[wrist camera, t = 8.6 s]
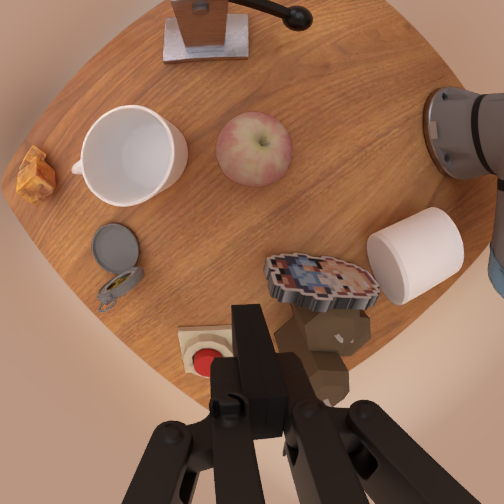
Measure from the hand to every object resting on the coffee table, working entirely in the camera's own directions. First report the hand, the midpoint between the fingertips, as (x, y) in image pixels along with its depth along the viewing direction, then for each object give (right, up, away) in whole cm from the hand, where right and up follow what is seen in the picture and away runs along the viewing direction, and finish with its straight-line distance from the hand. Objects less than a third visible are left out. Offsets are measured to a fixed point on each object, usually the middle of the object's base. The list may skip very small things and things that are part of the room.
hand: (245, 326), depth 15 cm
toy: (+8, +3, +22) cm, 24 cm away
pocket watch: (-17, +4, +19) cm, 25 cm away
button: (-6, -11, +22) cm, 25 cm away
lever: (0, +27, +4) cm, 28 cm away
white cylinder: (+17, +1, +19) cm, 26 cm away
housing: (-6, -10, +25) cm, 27 cm away
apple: (0, +16, +17) cm, 23 cm away
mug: (-13, +15, +15) cm, 25 cm away
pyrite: (-26, +15, +14) cm, 33 cm away
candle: (+9, -7, +25) cm, 28 cm away
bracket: (-5, +30, +11) cm, 32 cm away
